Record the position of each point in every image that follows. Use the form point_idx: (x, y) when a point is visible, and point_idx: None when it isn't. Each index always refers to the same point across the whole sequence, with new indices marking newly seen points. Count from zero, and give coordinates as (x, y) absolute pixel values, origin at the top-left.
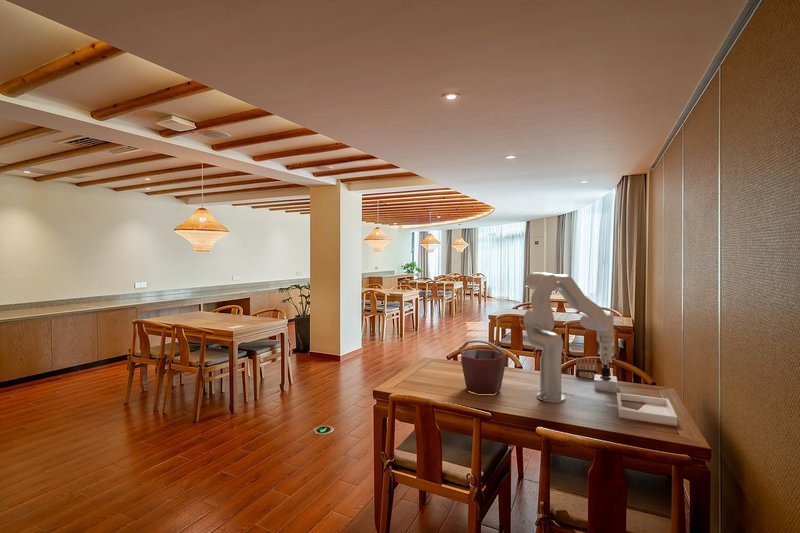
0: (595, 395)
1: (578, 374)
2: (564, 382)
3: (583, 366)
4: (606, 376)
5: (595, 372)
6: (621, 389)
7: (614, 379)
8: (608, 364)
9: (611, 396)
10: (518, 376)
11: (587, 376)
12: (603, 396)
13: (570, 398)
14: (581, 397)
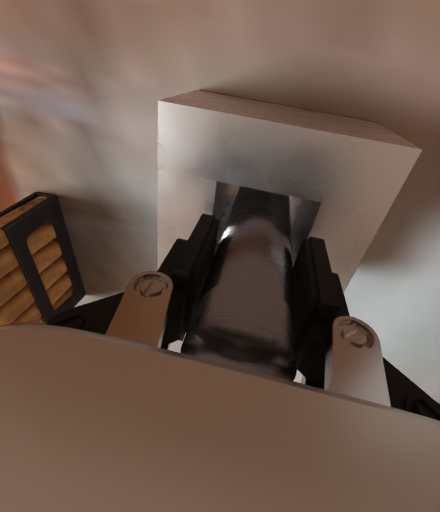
0: (390, 277)
1: (68, 301)
2: (179, 349)
3: (15, 319)
4: (291, 250)
5: (18, 231)
6: (217, 45)
7: (297, 156)
8: (386, 397)
9: (422, 182)
10: None
11: (58, 256)
12: (416, 237)
13: (433, 384)
14: (423, 345)
